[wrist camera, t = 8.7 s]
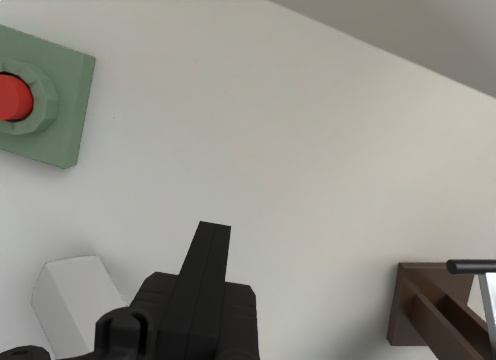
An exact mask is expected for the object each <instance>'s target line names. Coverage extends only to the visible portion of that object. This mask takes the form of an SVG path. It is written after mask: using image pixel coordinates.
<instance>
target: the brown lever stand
mask: <svg viewBox="0 0 496 360" xmlns="http://www.w3.org/2000/svg"><path fill="white" fill-rule="evenodd" d="M473 278H474V275H453V274H450V273H449V272H448V270H447V267H446V263H399V268H398V274H397V280H396V286H395V292H394V298H393V304H392V310H391V316H390V322H389V328H388V334H387V340H388V342H389V343H390V345H391V346H429V348H430V349H431V350H432V352H433V353H434V354H435V356H436V357H437V358H438V360H493V355H492V350H491V344H490V339H489V333H488V328H487V323H486V322H485V321H484V320H482V319H481V318H480V317H479V316H478V315H477V314H476V313H475V312H474V311H472V310H471V309H470V308H469V307H468V306H467V303H468V299H469V295H470V291H471V287H472V283H473Z"/></svg>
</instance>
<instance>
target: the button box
mask: <svg viewBox="0 0 496 360" xmlns="http://www.w3.org/2000/svg"><path fill="white" fill-rule="evenodd" d="M94 64H95V57H92V56H89V55H86V54H83V53H80V52H77V51H74V50H72V49H69V48H66V47H63V46H60V45H57V44H54V43H52V42H49V41H46V40H43V39H40V38H37V37H34V36H31V35H29V34H26V33H23V32H20V31H17V30H14V29H11V28H8V27H6V26H3V25H0V74H2V75H9V76H14V77H16V78H18V79H20V80H21V81H23V82H24V83H25V84H26V85H27V86H28V88H29V89H30V91H31V93H32V96H33V107H32V110H31V112H30V113H29V114H28V115H27V116H26V117H24V118H21V119H11V120H0V149H2V150H5V151H9V152H12V153H15V154H18V155H22V156H25V157H28V158H31V159H34V160H38V161H41V162H44V163H47V164H51V165H54V166H57V167H60V168H64V169H65V168H68V167H71V166H74V165H76V163H77V158H78V152H79V147H80V141H81V136H82V130H83V125H84V119H85V114H86V108H87V103H88V97H89V92H90V86H91V81H92V75H93V69H94Z"/></svg>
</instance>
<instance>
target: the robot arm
mask: <svg viewBox="0 0 496 360" xmlns="http://www.w3.org/2000/svg"><path fill="white" fill-rule="evenodd" d="M230 232H231V226H227V225H221V224H215V223H209V222H203V221H200V222H199V225H198V228H197V230H196V233H195V235H194V238H193V240H192V243H191V245H190V248H189V250H188V253H187V255H186V258H185V260H184V263H183V266H182V268H181V271H180V273H179V275H174V274H168V273H162V272H154V273H153V274H152V275H150V276H149V277H147V278H146V279H145V280H144V282H143V284H142V285H141V287H140V289H139V291H138V292H137V294H136V296H135V297H134V300H133V301H132V303H131V304H130V306H129V307H121V308H117V309H113V310H111V311H109V312H108V313H106V314H104V315H103V316H102V317H101V318H100V319H99V320H98V321H97V322H96V323H95V339H94V351H92V352H90V353H87V354H85V355H81V356H77V357H71V358H64V359H57V360H260V357H259V348H258V330H257V318H256V316H257V312H256V295H255V294H254V292H253V290H252V289H251V287H250V285H243V284H237V283H231V282H225V275H226V266H227V257H228V249H229V240H230ZM0 360H51V358H50V354H49V352H48V351H46V350H45V349H44V348H42V347H38V346H32V345H29V346H21V347H16V348H13V349H10V350H7V351H5V352H2V353H0Z"/></svg>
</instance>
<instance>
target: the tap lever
mask: <svg viewBox="0 0 496 360" xmlns="http://www.w3.org/2000/svg"><path fill="white" fill-rule="evenodd" d="M446 267H447V270H448V272H449V273H450V274H453V275H478V277H479V283H480V289H481V294H482V300H483V305H484V311H485V316H486V322H487V328H488V333H489V339H490V344H491V350H492V355H493V360H496V260H448V261H447V263H446Z"/></svg>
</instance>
